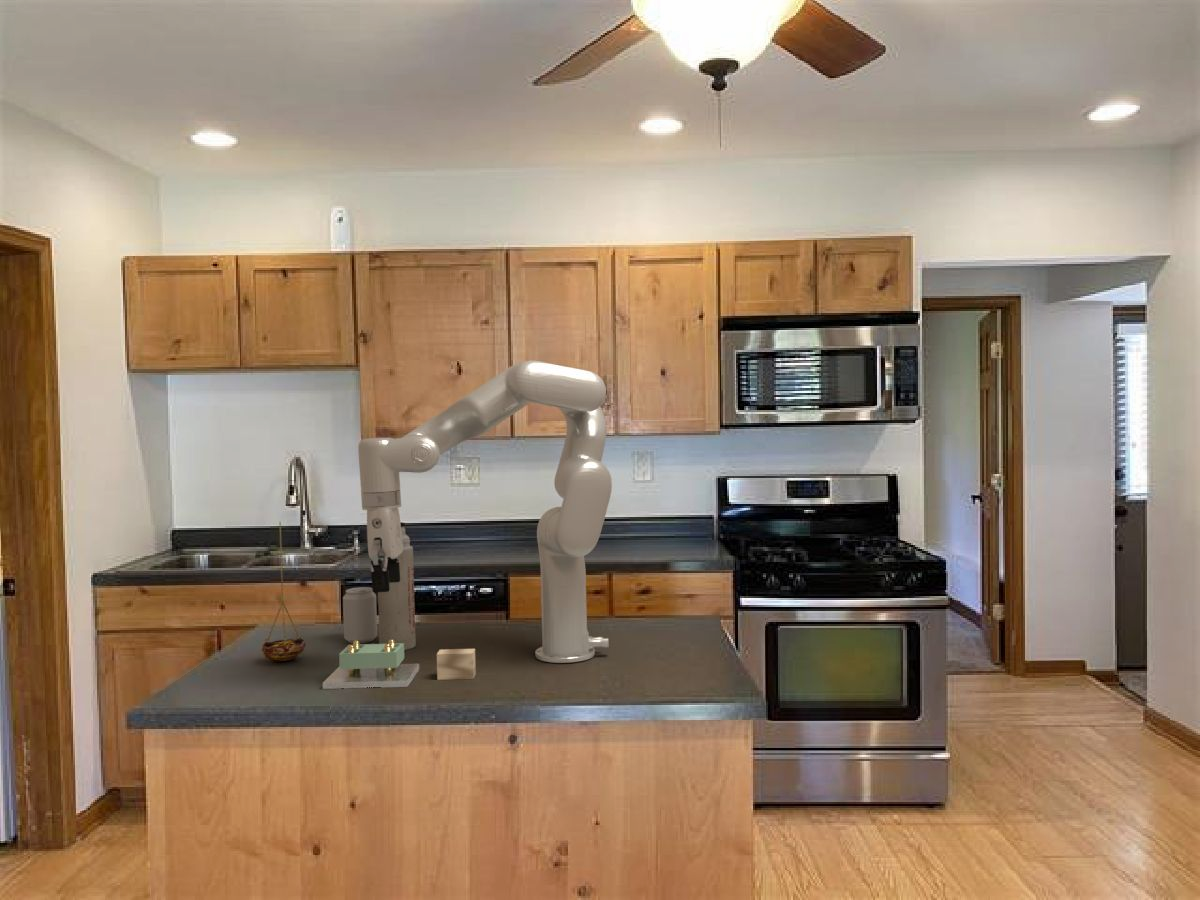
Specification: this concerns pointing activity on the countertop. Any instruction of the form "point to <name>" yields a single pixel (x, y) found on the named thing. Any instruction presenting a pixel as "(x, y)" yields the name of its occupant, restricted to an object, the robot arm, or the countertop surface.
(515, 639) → the countertop surface
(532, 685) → the countertop surface
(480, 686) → the countertop surface
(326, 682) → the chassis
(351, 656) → the board
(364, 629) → the can
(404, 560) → the thermos bottle
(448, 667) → the block
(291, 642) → the bird feeder
